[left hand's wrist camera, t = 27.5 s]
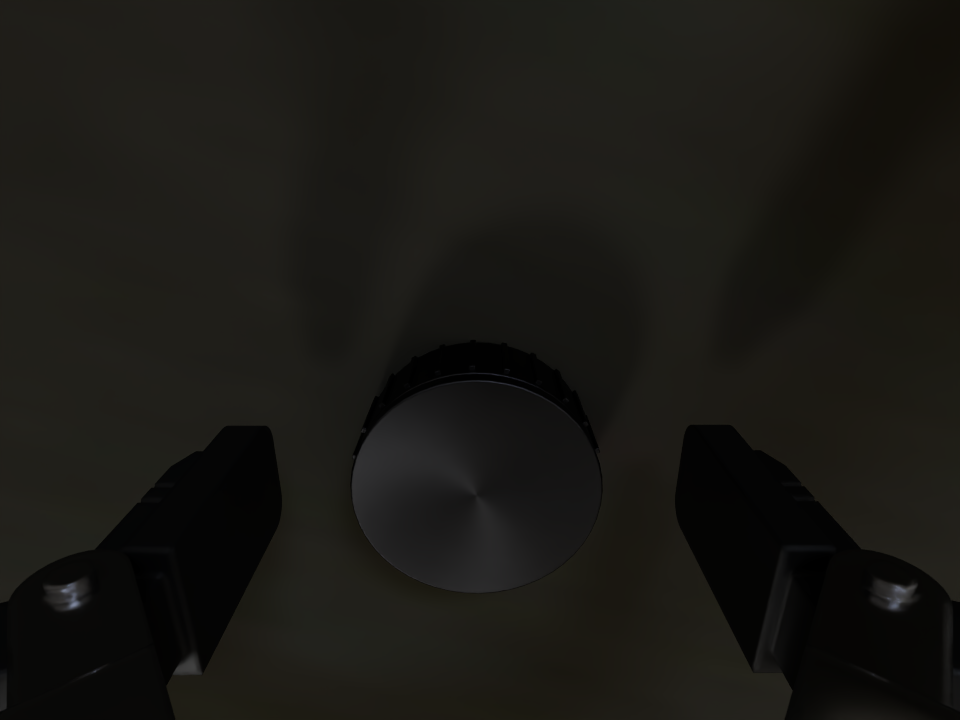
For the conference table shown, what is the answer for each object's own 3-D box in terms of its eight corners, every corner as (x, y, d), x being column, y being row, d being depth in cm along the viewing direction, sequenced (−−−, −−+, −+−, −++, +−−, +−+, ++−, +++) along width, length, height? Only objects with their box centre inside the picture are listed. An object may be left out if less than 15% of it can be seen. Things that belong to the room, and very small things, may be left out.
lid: (340, 497, 14) (317, 556, 12) (406, 305, 12) (391, 338, 10) (536, 557, 14) (545, 623, 12) (625, 384, 12) (651, 429, 11)
